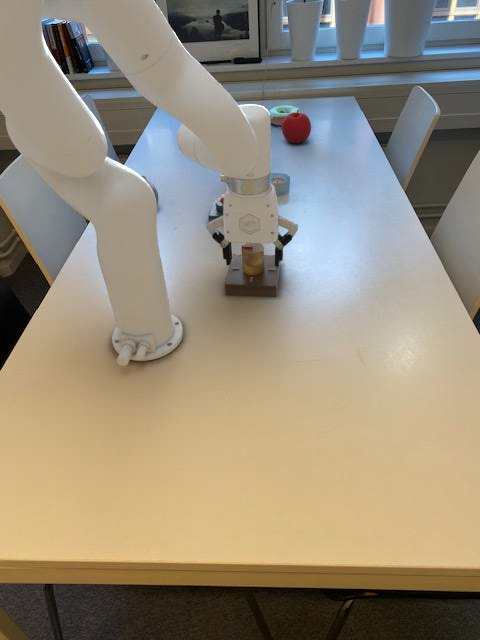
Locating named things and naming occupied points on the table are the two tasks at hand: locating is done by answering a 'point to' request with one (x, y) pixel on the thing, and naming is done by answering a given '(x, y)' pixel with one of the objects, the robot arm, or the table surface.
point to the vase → (153, 189)
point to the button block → (216, 209)
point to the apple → (296, 127)
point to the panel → (252, 278)
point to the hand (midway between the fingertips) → (253, 262)
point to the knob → (253, 258)
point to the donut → (281, 114)
